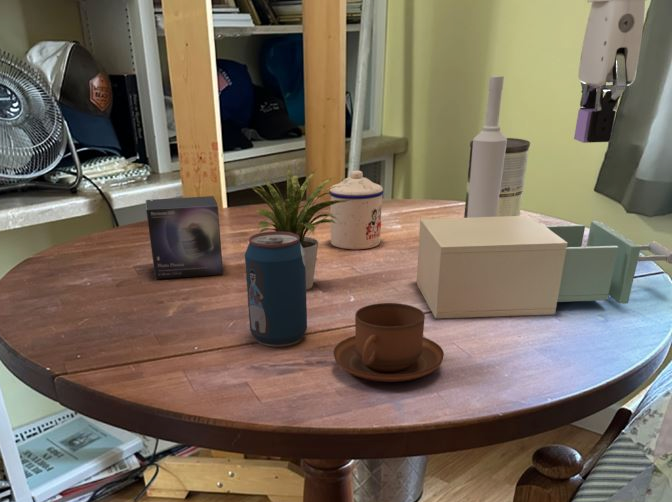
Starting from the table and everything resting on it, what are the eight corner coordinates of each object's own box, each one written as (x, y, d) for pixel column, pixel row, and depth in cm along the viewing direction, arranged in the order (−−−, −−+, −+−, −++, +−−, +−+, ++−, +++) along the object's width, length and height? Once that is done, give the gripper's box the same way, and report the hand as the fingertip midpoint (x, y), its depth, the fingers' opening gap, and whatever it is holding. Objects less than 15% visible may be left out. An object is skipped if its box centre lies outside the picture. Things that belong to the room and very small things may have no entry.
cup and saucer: (441, 395, 72) (446, 338, 68) (325, 388, 74) (325, 332, 70) (443, 349, 82) (448, 298, 78) (341, 344, 83) (341, 294, 80)
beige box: (521, 280, 103) (531, 215, 98) (555, 314, 91) (567, 242, 86) (416, 283, 102) (420, 219, 97) (435, 318, 90) (441, 246, 85)
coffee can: (451, 224, 131) (458, 142, 124) (484, 215, 137) (492, 136, 129) (497, 234, 125) (507, 147, 117) (530, 223, 131) (541, 140, 123)
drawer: (637, 271, 102) (650, 219, 98) (682, 301, 91) (698, 244, 87) (490, 276, 102) (496, 224, 98) (517, 307, 90) (525, 250, 86)
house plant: (292, 312, 93) (287, 181, 84) (223, 291, 101) (212, 169, 92) (360, 286, 102) (362, 164, 93) (291, 268, 110) (287, 155, 101)
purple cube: (600, 138, 105) (605, 108, 103) (610, 142, 102) (616, 111, 100) (573, 139, 105) (578, 109, 103) (583, 142, 102) (588, 111, 100)
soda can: (313, 329, 88) (310, 231, 81) (299, 351, 82) (296, 246, 76) (260, 326, 89) (253, 229, 83) (243, 346, 83) (235, 244, 77)
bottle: (500, 247, 118) (522, 76, 104) (478, 252, 115) (497, 78, 102) (478, 241, 121) (496, 74, 108) (456, 246, 119) (471, 76, 105)
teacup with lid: (376, 251, 117) (378, 177, 111) (323, 249, 119) (322, 175, 113) (388, 234, 127) (391, 164, 120) (339, 231, 129) (340, 163, 122)
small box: (154, 281, 106) (144, 208, 100) (154, 268, 111) (144, 199, 106) (224, 275, 108) (218, 203, 102) (220, 263, 113) (214, 194, 107)
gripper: (675, -16, 86) (641, 147, 96) (621, -10, 101) (596, 131, 110) (615, -14, 86) (586, 148, 96) (569, -8, 100) (549, 133, 110)
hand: (592, 138), depth 103 cm, fingers closed on purple cube, 4 cm apart
